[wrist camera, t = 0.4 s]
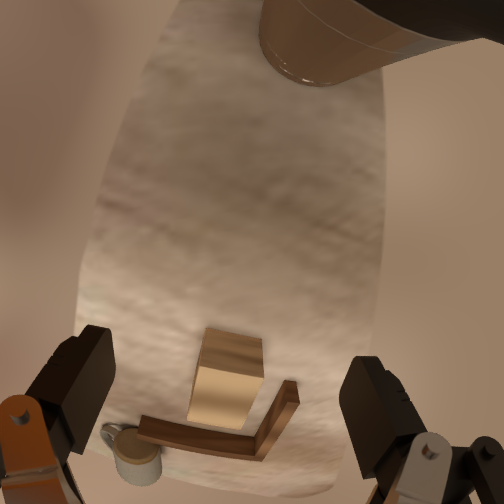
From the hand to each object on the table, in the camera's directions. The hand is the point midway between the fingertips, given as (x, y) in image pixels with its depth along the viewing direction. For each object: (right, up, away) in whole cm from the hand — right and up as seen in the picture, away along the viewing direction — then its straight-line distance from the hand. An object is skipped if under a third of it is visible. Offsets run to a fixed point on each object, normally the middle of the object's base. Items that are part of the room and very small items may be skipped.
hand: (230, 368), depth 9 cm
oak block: (-2, -9, +25) cm, 26 cm away
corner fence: (-5, -16, +27) cm, 32 cm away
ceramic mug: (-18, -26, +31) cm, 45 cm away
